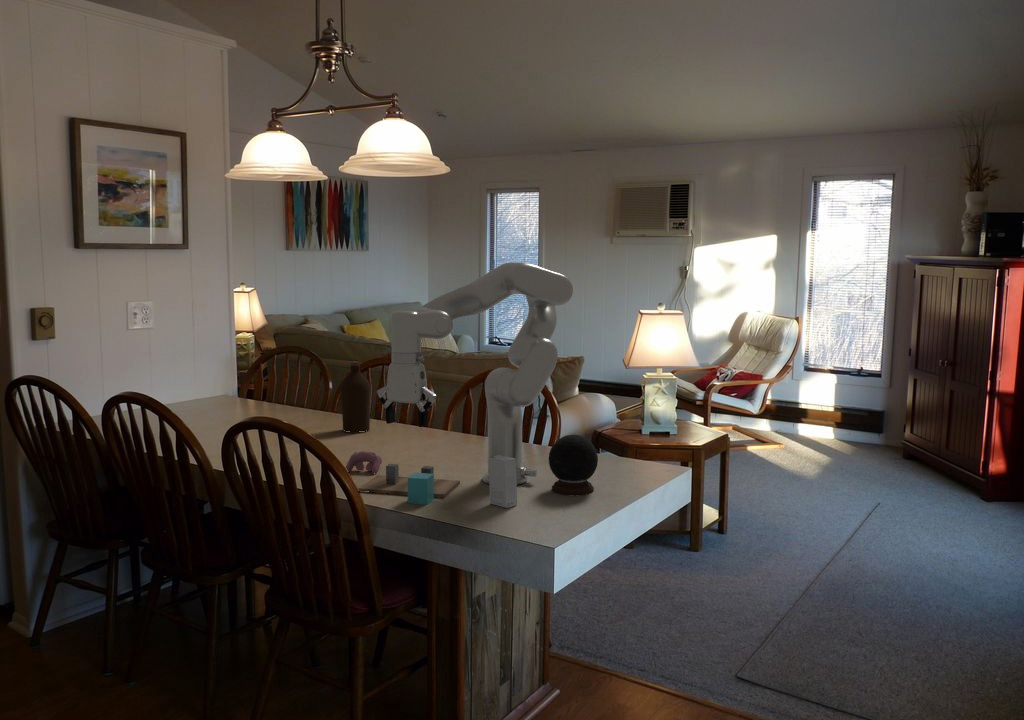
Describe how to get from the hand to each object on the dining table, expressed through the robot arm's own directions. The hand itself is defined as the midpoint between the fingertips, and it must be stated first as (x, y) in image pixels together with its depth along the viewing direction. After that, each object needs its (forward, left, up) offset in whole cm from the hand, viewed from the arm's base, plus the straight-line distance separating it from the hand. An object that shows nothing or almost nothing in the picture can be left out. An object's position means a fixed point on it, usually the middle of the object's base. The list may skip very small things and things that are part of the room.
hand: (406, 424), depth 218 cm
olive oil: (+47, -75, -19) cm, 90 cm away
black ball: (-41, -16, -19) cm, 48 cm away
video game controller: (+21, -20, -19) cm, 35 cm away
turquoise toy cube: (-5, +4, -19) cm, 20 cm away
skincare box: (-26, +2, -19) cm, 32 cm away
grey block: (+7, -7, -19) cm, 21 cm away
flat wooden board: (+2, -7, -19) cm, 20 cm away
